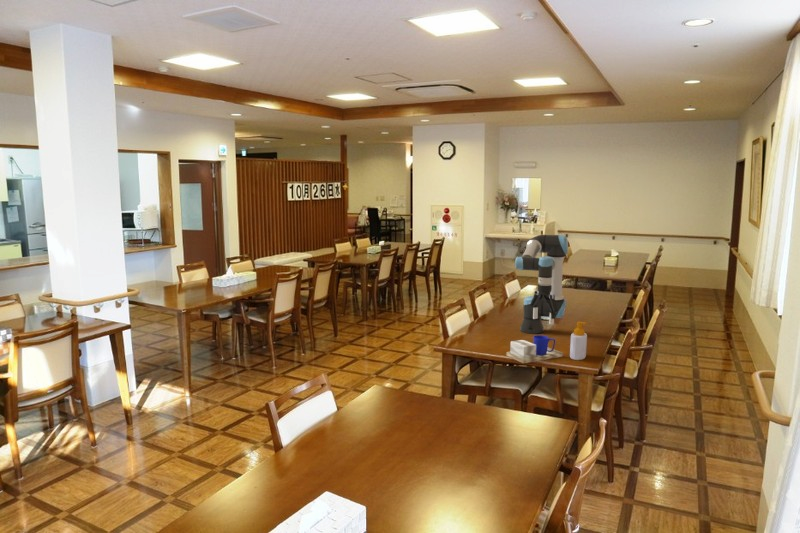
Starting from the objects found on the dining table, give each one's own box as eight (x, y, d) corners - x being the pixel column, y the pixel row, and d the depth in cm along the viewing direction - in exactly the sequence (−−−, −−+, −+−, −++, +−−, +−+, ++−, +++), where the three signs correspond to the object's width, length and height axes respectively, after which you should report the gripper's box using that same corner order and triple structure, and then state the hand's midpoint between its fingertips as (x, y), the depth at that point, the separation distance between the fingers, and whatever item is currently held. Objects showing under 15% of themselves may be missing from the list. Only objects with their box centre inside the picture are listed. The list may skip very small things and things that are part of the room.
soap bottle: (582, 361, 302) (584, 325, 299) (567, 358, 307) (569, 323, 304) (588, 355, 314) (590, 320, 311) (573, 352, 318) (575, 318, 315)
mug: (555, 357, 308) (556, 339, 306) (533, 356, 310) (534, 338, 308) (553, 352, 316) (554, 335, 315) (532, 351, 318) (532, 334, 316)
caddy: (544, 349, 324) (545, 334, 323) (562, 356, 311) (563, 341, 310) (506, 355, 312) (506, 340, 311) (523, 363, 299) (524, 347, 297)
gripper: (525, 281, 317) (523, 317, 320) (555, 288, 295) (553, 327, 298) (535, 280, 320) (533, 315, 324) (565, 287, 298) (564, 325, 302)
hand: (543, 321), depth 311 cm, fingers open, 13 cm apart
